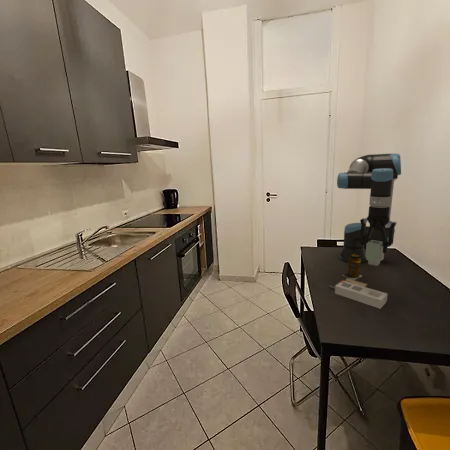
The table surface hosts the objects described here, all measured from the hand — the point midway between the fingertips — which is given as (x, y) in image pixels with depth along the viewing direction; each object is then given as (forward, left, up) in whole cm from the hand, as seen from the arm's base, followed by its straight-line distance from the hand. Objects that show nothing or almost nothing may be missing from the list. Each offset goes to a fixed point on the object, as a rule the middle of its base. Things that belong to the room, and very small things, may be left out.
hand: (374, 257), depth 115 cm
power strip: (+2, -7, -20) cm, 21 cm away
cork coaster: (-8, -11, -20) cm, 24 cm away
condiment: (-19, -16, -20) cm, 32 cm away
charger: (0, 0, -3) cm, 3 cm away
